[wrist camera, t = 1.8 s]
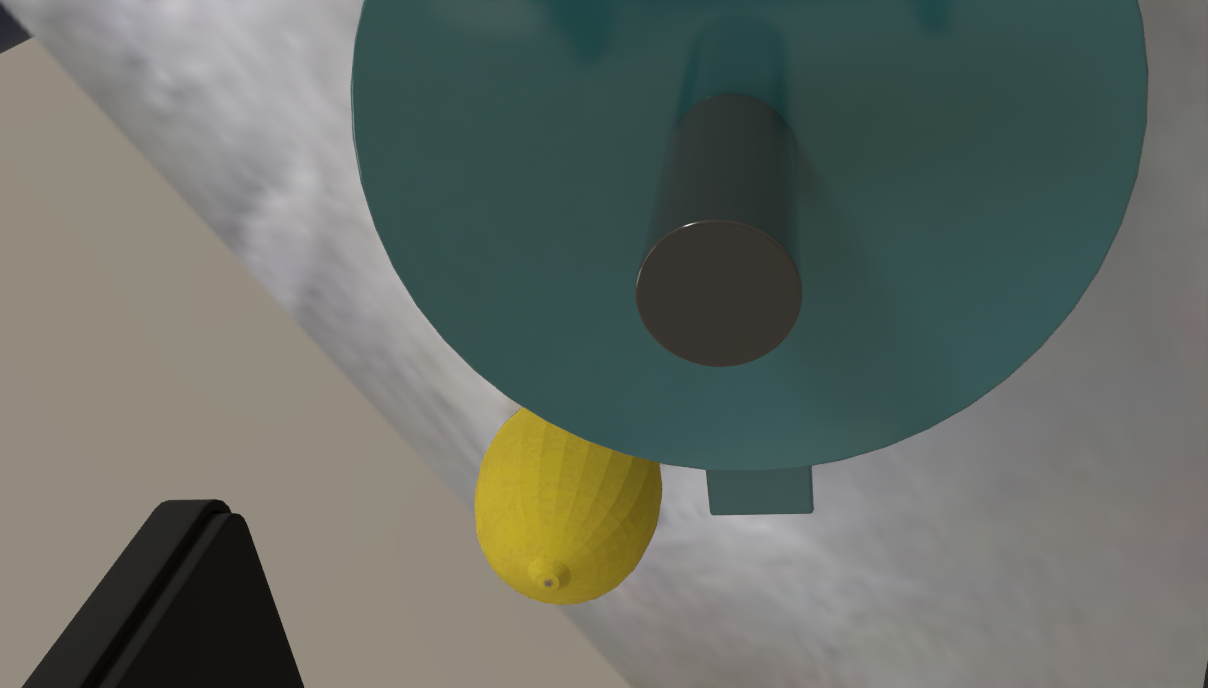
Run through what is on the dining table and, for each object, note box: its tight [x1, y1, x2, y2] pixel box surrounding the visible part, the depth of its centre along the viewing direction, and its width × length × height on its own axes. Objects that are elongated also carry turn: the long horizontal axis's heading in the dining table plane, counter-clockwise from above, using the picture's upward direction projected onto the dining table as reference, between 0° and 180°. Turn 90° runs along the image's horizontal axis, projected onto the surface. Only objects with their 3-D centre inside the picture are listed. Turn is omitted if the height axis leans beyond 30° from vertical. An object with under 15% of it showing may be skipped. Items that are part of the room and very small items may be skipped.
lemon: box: [475, 407, 662, 605], centre depth 35 cm, size 6×6×8 cm
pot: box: [706, 466, 814, 515], centre depth 26 cm, size 13×19×10 cm
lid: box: [351, 0, 1148, 472], centre depth 19 cm, size 14×14×7 cm
